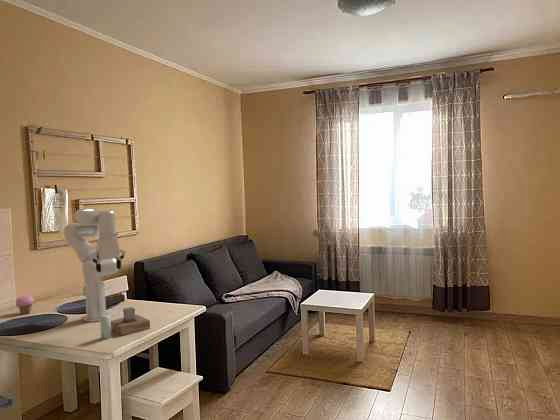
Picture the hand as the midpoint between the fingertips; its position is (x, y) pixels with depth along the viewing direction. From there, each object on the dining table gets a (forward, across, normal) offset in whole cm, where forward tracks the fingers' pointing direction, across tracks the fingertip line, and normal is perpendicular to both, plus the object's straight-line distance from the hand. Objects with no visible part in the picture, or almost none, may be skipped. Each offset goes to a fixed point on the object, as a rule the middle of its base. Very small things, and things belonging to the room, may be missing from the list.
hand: (108, 270), depth 208 cm
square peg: (+28, -5, +10) cm, 30 cm away
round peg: (+28, +8, +14) cm, 33 cm away
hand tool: (+29, -15, -39) cm, 50 cm away
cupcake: (+28, +24, -61) cm, 71 cm away
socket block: (+28, -5, +10) cm, 30 cm away
